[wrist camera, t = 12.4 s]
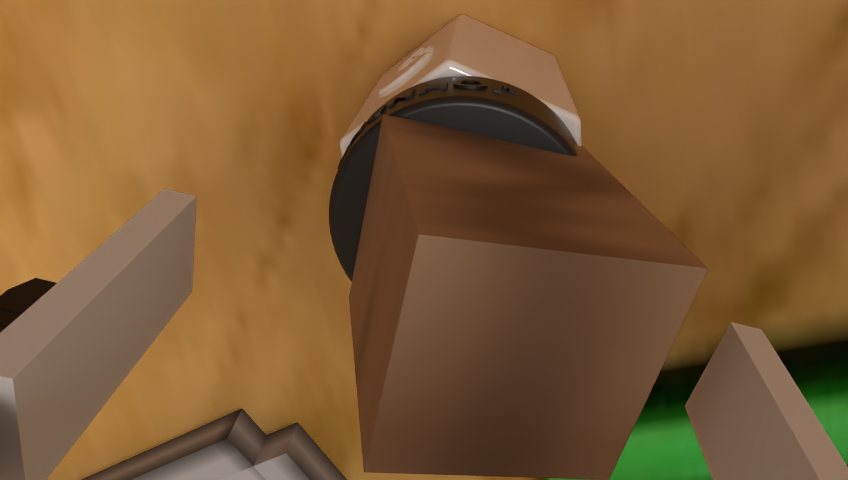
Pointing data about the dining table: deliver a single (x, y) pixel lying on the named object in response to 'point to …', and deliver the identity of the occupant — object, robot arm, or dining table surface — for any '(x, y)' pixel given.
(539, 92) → the jar
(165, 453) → the grey tray
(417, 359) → the walnut block
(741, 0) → the dining table surface
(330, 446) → the dining table surface
